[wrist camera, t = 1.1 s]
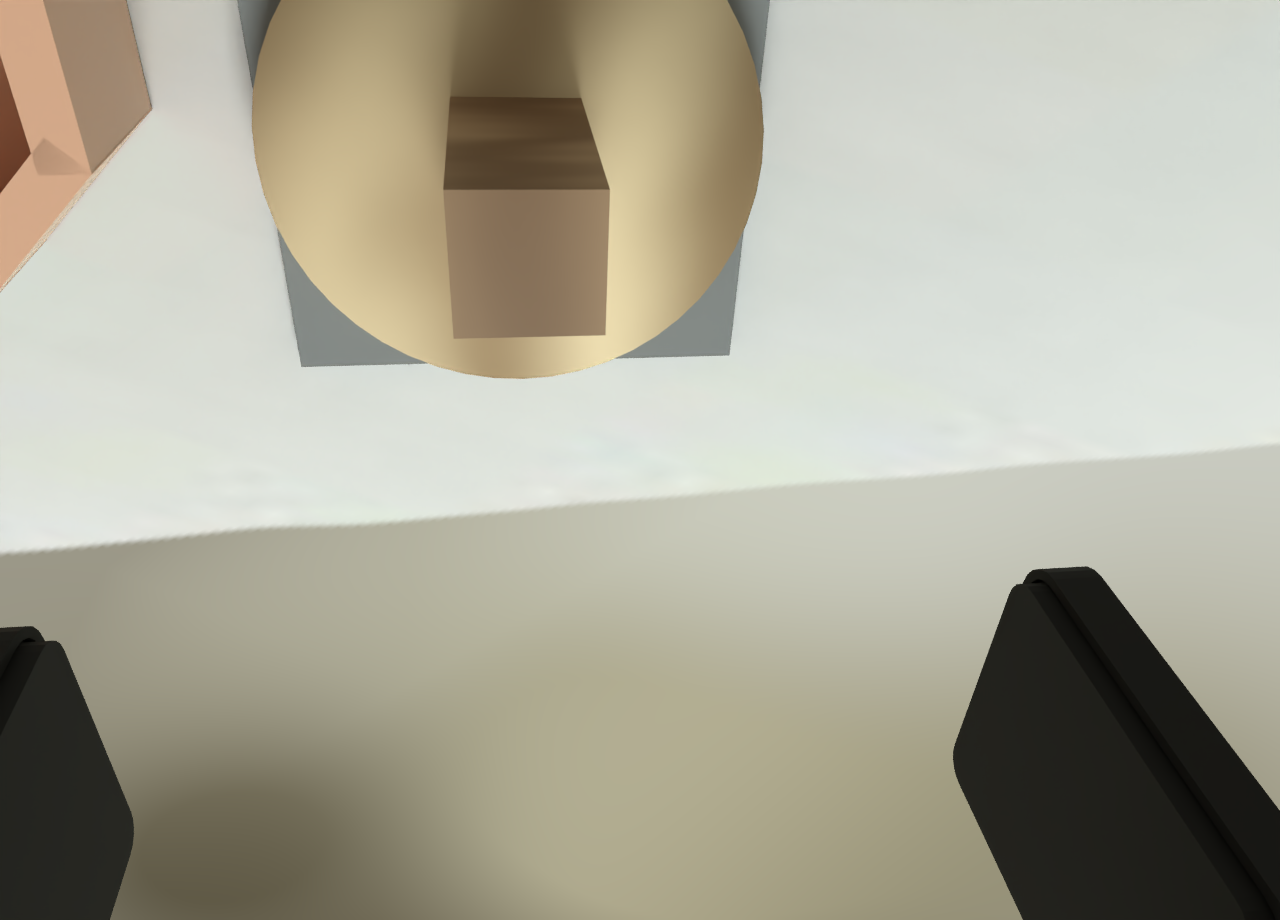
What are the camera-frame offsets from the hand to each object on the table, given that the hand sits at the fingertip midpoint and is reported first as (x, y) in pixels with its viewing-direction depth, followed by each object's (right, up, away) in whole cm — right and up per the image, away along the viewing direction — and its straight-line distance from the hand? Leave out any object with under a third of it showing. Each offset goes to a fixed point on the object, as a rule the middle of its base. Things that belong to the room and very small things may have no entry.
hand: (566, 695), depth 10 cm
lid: (-2, +10, +14) cm, 18 cm away
